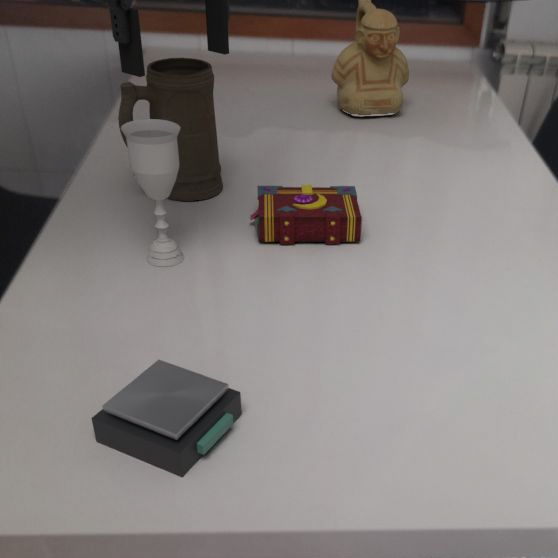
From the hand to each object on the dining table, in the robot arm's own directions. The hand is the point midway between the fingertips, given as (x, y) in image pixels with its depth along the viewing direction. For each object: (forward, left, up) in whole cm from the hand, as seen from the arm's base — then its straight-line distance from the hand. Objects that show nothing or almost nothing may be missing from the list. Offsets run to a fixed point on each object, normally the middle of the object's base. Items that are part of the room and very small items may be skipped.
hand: (178, 62), depth 82 cm
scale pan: (+17, -28, -23) cm, 40 cm away
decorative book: (+7, +18, -27) cm, 33 cm away
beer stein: (-17, +19, -27) cm, 37 cm away
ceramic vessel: (-9, +77, -27) cm, 82 cm away
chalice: (-5, 0, -27) cm, 27 cm away
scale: (+17, -28, -27) cm, 42 cm away
